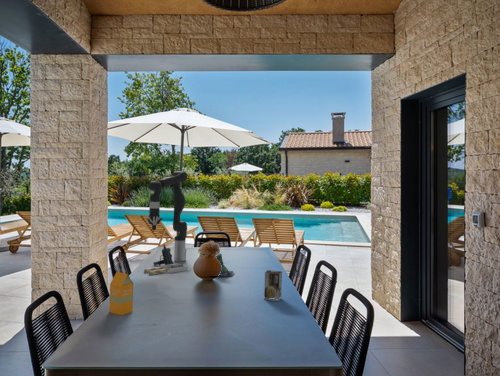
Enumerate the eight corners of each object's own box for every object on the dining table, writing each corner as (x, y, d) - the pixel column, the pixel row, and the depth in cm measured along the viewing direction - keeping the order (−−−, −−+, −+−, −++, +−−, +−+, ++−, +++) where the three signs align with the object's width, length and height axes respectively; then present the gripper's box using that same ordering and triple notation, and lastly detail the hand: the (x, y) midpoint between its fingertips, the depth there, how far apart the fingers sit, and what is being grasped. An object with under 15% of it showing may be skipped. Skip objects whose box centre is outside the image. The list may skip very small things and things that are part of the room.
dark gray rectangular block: (175, 269, 287) (175, 264, 287) (178, 270, 284) (178, 265, 284) (170, 269, 284) (170, 264, 284) (173, 270, 281) (173, 265, 281)
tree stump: (240, 275, 275) (237, 252, 271) (218, 286, 263) (214, 262, 259) (225, 269, 289) (222, 247, 285) (204, 279, 277) (200, 256, 273)
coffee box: (281, 298, 223) (282, 271, 222) (278, 301, 216) (279, 273, 216) (266, 296, 225) (267, 269, 225) (263, 299, 219) (264, 272, 219)
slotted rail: (161, 270, 282) (161, 266, 282) (167, 272, 275) (167, 269, 275) (144, 272, 273) (144, 269, 273) (149, 275, 266) (149, 271, 266)
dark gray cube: (180, 268, 289) (180, 263, 289) (182, 269, 286) (183, 264, 286) (175, 269, 287) (175, 264, 287) (178, 270, 284) (178, 265, 284)
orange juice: (120, 315, 187) (121, 275, 187) (108, 311, 192) (109, 272, 191) (132, 311, 194) (133, 272, 193) (121, 307, 198) (122, 270, 198)
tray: (178, 266, 294) (178, 263, 294) (187, 270, 284) (187, 266, 284) (160, 269, 284) (160, 265, 284) (168, 273, 274) (168, 269, 274)
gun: (150, 247, 296) (168, 243, 299) (155, 268, 297) (174, 263, 299) (149, 248, 294) (168, 243, 296) (154, 269, 295) (173, 264, 297)
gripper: (160, 207, 295) (159, 229, 296) (144, 207, 287) (143, 230, 287) (164, 207, 290) (164, 230, 290) (148, 208, 281) (148, 231, 281)
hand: (153, 230), depth 288 cm, fingers closed
